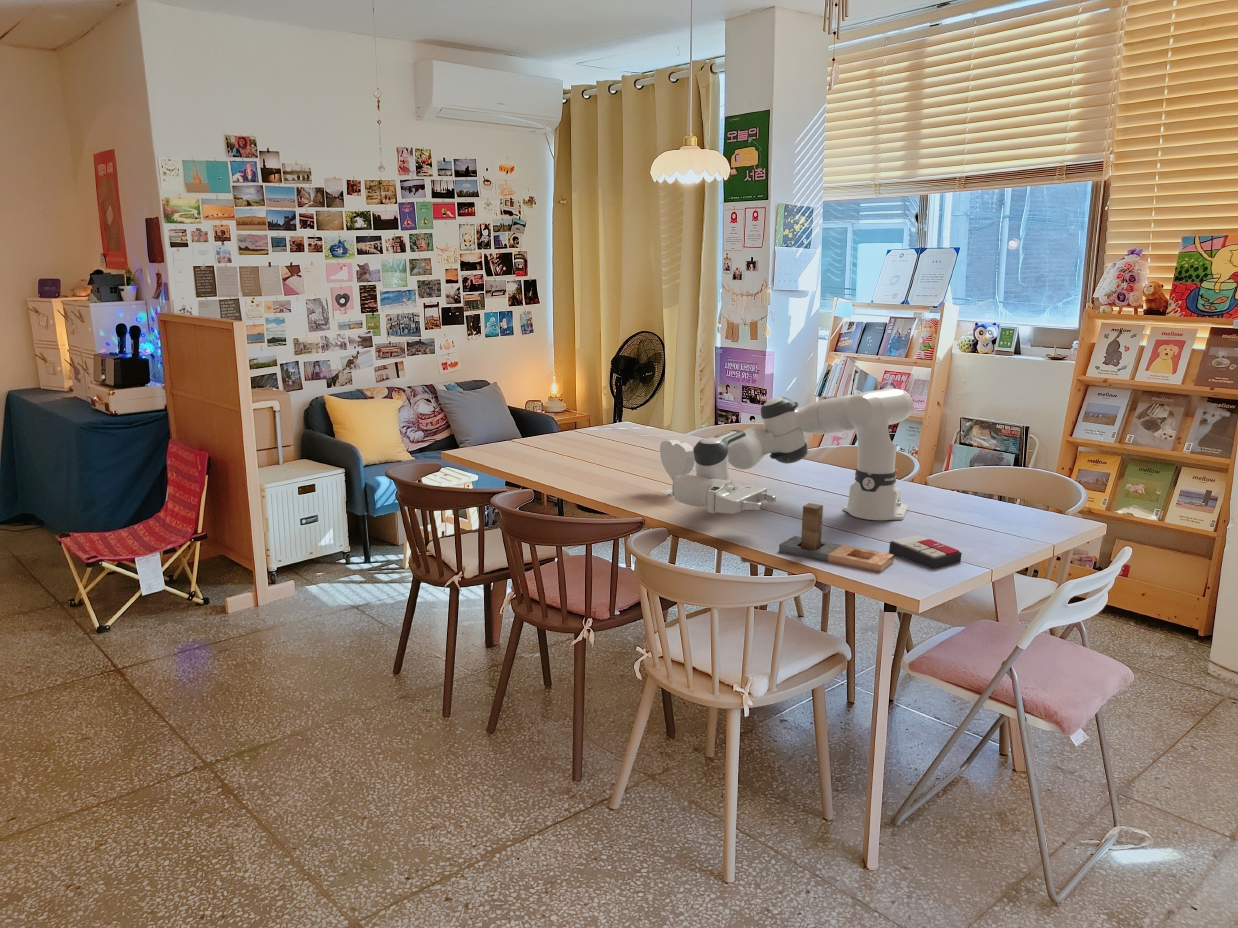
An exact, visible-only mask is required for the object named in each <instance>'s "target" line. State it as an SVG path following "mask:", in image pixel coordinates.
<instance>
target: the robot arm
mask: <svg viewBox="0 0 1238 928" xmlns="http://www.w3.org/2000/svg"><path fill="white" fill-rule="evenodd" d="M798 406H800V404H799V403H798V402H797V401H793V400H792V399H790V398H787V397H784V396H782V397H780V396H779V397H778V396H777V397H773V398H770V399H768V400H767V401H766V402H765V403H763V404H762V406H760V416H761V419H762V421H763V425H764V428H762V427H759V426H752V427H749V428H746V429H744V430H740V429H731V430H727V431H725V432H721V433H720V434H719V433H718V434H716V435H713V436H711V437H707V438H702V439H700V440H699V441H698V442H696V444H695V445H694V447H693V452H694V458H695V462H694V466H695V474H696V475H691V474H688V475H678V476H676V477H675V479H674V481H673V480H672V487H671V488H672V489H671V490H673V496H674V497H673V496H672V497H673V499H674V500H675V501H676V502H679V503H682V504H683V505H688V506H692V507H695V508H696V507H697V508H701V507H704V508H707V512H708V514H709V513H710V514H716V513H719V514H731V515H733V514H738V513H740V512H742V511H744V510H745V511H747V510H756V511H758V510H761V508H762V504H761V502H764V501H766V502H767V503H770V504H771V503H773V504H774V503H775V502H777V496H776V495H772V494H769V493H768V488H767V487H765V486H759V485H750V484H749V485H748V484H745V485H741V486H738V487H737V486H735V483H734V481H731V480H730V471H729V464H730V465H731V466H732V467H734V468H735V469H738V470H743V471H745V470H746V471H747V470H750V469H752V468H753V467H755V466H756V465H758V464H759V463H760V462H761V460H762V459H763V458H764V457H766V455H769V457H770V459H772V460H775V461H777V462H778V463H781V464H787V465H788V464H794V463H797V462H800V461H801V460H802V459H804V458H806V456H807V454H808V452H809V451H808V444H807V442H806V439H805V434H804V433H806V434H811V435H828V434H835V433H836V434H837V433H843V432H849V431H855V433H856V437H857V438H856V439H857V444H858V445H857V447H858V449H857V450H858V451H857V468H855V472H854V480H855V482H853V483H852V484H850V486H849V494H848V500H847V504H846V505H844V506H843V507H842V508H843V509H842V511H844V512H846V513H848V514H849V515H850V516H853V517H855V518H858V519H862V520H863V519H864V520H868V521H869V520H870V521H889V520H890V521H891V520H896V521H899V520H900V521H901V520H902V521H903V520H904V518H905V515H906V514H907V512H908V507H909V506H908V505H907V504H905V503H902V491H901V489H900V488H899V486H898V485H897V483H896V482H897V475H898V469H897V468H895V467H896V453H897V447H896V444H895V442H894V441H892V440H891V435H890V432H889V426H891V425H895V424H896V425H897V424H898V423H901V422H903V421H904V420H905V419H908V418H909V417H910V416H911V414H912V412H913V410H914V400H913V398H912V396H911V394H910V393H909V392H907V391H906V390H904V389H899V388H893V387H891V388H883V389H875V390H869V391H868V390H867V391H863V392H860V393H855V394H854V393H853V394H847V395H843V396H841V395H840V396H837V397H830V398H826V399H821V400H817V401H813V402H811V403H808V404H806V405H804V406H802V407H798Z"/></svg>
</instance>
